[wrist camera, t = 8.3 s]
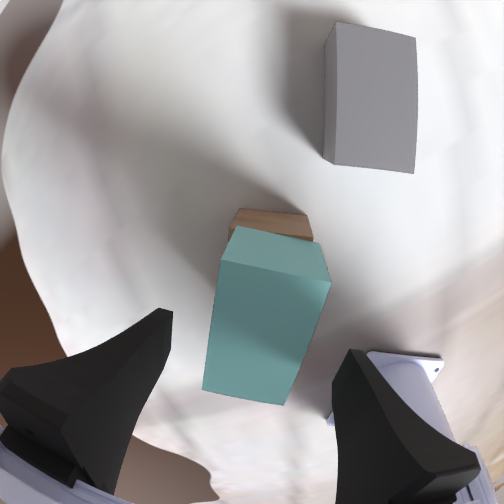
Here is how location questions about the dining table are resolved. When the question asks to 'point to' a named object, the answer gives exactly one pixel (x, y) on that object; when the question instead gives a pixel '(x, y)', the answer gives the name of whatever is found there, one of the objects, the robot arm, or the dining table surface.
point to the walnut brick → (273, 223)
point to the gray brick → (370, 98)
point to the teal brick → (264, 314)
